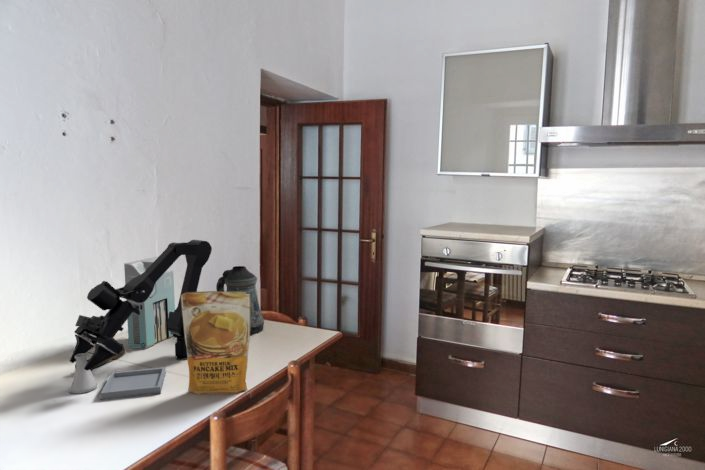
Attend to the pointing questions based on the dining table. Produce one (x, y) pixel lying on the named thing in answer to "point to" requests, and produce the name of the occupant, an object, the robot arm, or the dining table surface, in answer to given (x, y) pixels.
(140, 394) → the parts tray
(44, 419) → the dining table surface
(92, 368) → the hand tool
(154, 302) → the light blue box
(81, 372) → the flask
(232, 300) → the pancake mix bag
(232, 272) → the dark grey coffee pot
